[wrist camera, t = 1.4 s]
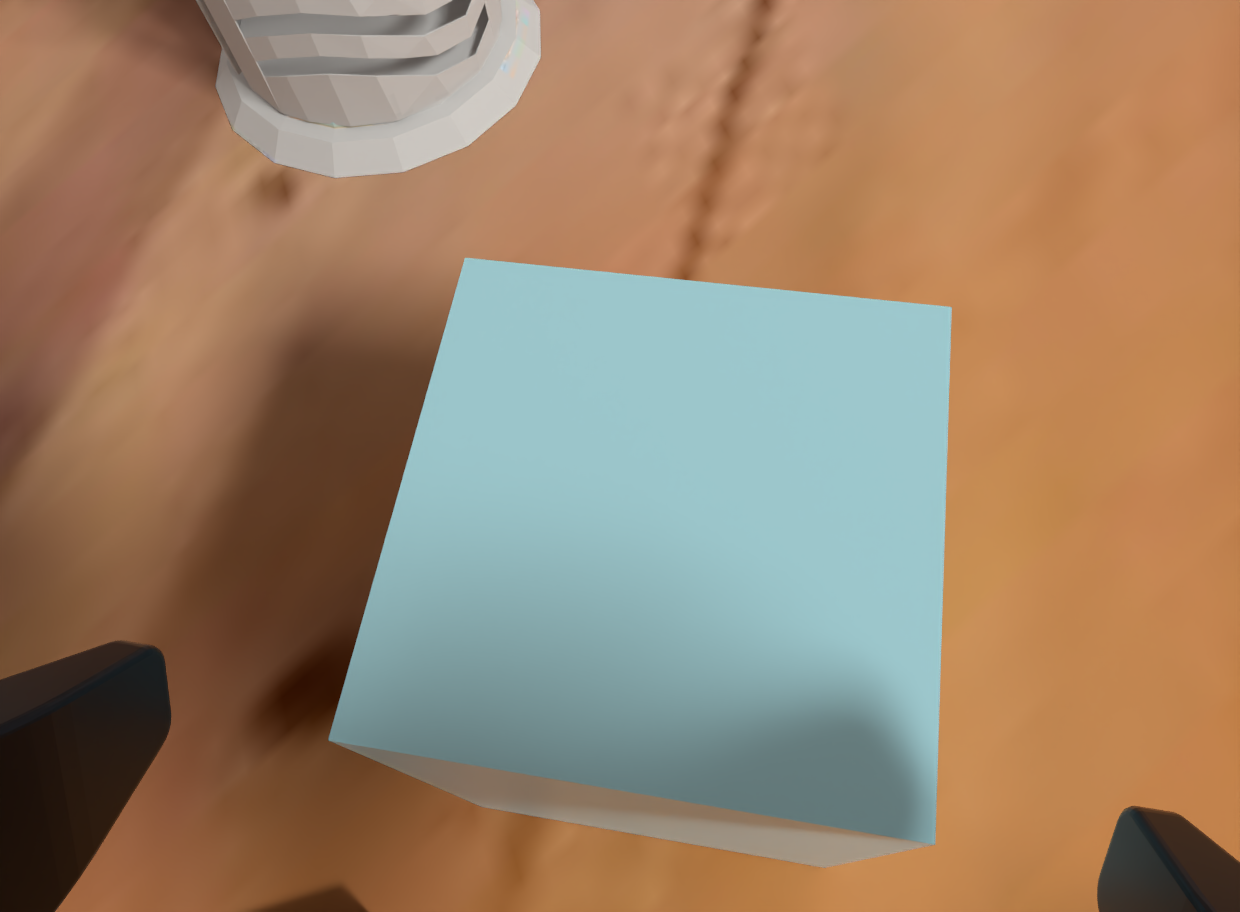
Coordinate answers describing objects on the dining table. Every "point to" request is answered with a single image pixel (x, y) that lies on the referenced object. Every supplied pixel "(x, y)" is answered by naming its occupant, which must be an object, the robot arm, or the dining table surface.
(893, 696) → the pale blue cube block
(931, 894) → the dining table surface
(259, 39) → the french press
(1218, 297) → the dining table surface
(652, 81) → the dining table surface
